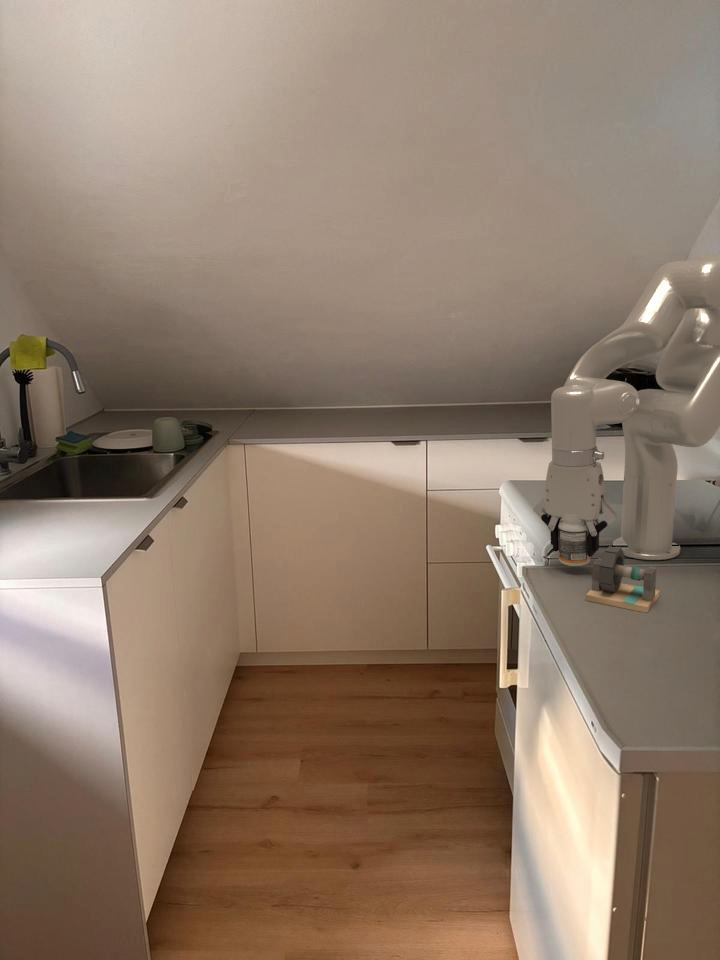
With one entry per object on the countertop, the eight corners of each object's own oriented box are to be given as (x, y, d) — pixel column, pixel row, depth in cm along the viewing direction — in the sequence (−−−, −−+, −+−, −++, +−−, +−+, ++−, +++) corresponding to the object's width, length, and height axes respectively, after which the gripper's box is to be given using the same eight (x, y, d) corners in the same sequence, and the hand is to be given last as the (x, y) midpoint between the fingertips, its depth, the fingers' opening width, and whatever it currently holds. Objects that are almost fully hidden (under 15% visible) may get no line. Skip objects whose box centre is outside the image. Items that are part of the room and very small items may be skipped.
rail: (600, 584, 135) (601, 553, 134) (659, 595, 130) (661, 562, 128) (585, 600, 129) (586, 567, 127) (647, 612, 123) (649, 578, 122)
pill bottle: (566, 553, 146) (566, 503, 143) (595, 558, 142) (596, 507, 139) (553, 563, 142) (552, 512, 139) (583, 569, 138) (582, 517, 135)
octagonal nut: (611, 580, 133) (613, 542, 132) (623, 583, 132) (625, 544, 131) (598, 594, 128) (600, 554, 126) (610, 596, 127) (612, 556, 125)
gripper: (629, 454, 135) (628, 550, 139) (535, 448, 144) (537, 538, 149) (616, 465, 129) (615, 565, 134) (519, 458, 138) (522, 552, 143)
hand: (574, 550), depth 141 cm, fingers closed on pill bottle, 5 cm apart
